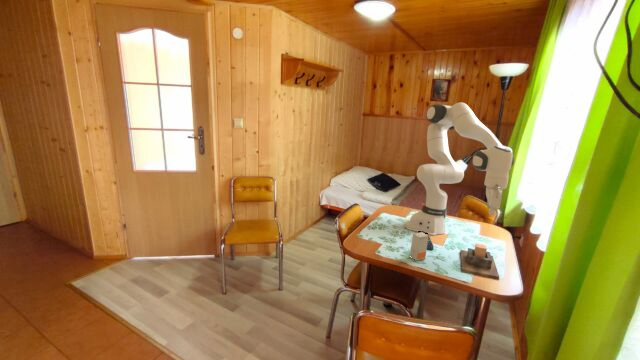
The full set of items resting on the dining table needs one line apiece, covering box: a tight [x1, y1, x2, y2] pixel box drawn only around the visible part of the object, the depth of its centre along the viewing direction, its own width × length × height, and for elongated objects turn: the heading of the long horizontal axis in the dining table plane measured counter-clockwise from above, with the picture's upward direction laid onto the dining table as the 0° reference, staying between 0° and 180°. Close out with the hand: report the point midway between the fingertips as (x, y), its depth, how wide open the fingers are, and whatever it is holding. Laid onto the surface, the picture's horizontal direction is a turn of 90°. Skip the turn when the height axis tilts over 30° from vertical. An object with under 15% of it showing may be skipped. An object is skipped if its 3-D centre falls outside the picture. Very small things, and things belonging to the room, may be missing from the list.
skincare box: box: [409, 232, 430, 261], centre depth 139 cm, size 6×4×12 cm
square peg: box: [474, 243, 487, 258], centre depth 135 cm, size 4×4×8 cm
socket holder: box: [459, 247, 500, 280], centre depth 136 cm, size 14×20×5 cm
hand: (490, 211), depth 136 cm, fingers open, 8 cm apart
